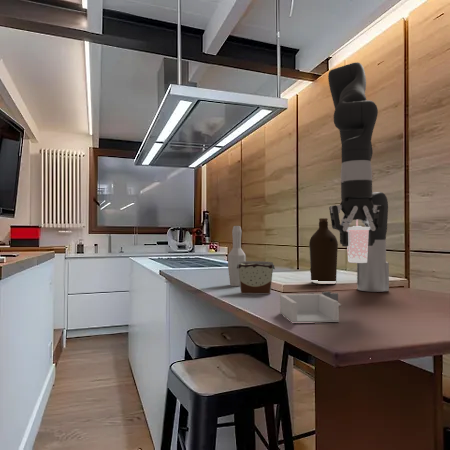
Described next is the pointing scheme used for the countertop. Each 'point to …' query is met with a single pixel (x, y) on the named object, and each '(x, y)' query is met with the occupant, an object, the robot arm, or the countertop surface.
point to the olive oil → (323, 253)
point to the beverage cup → (357, 243)
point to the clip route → (330, 295)
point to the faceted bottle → (235, 257)
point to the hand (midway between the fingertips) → (357, 245)
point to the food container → (255, 277)
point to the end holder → (309, 308)
